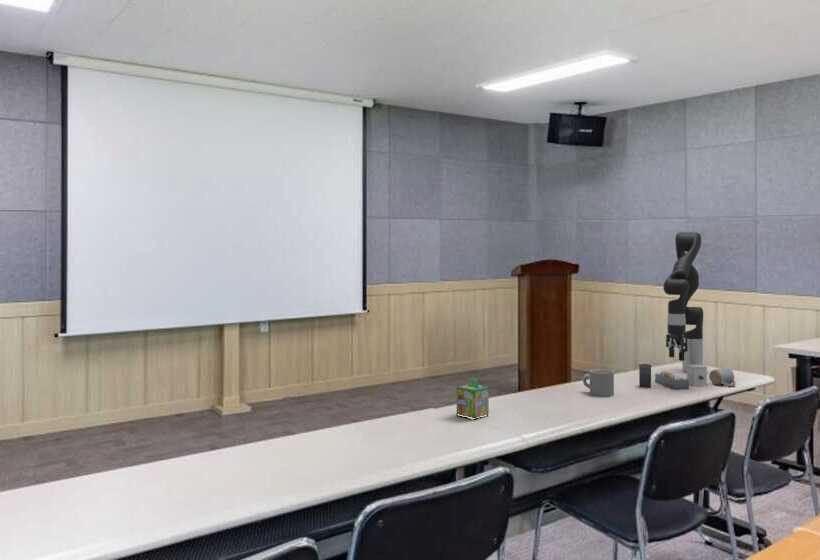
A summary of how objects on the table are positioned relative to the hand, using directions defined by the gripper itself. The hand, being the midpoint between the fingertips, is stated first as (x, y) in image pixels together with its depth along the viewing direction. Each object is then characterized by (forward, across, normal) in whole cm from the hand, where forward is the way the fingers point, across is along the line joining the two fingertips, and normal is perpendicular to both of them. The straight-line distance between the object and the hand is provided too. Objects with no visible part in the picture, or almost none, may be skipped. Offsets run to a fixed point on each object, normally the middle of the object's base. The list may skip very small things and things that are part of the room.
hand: (676, 358), depth 285 cm
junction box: (+13, -4, +12) cm, 18 cm away
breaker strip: (+13, -4, 0) cm, 14 cm away
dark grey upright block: (+13, -4, -13) cm, 19 cm away
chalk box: (+12, +33, -101) cm, 107 cm away
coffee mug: (+13, +5, -39) cm, 42 cm away
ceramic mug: (+14, -1, +24) cm, 27 cm away
